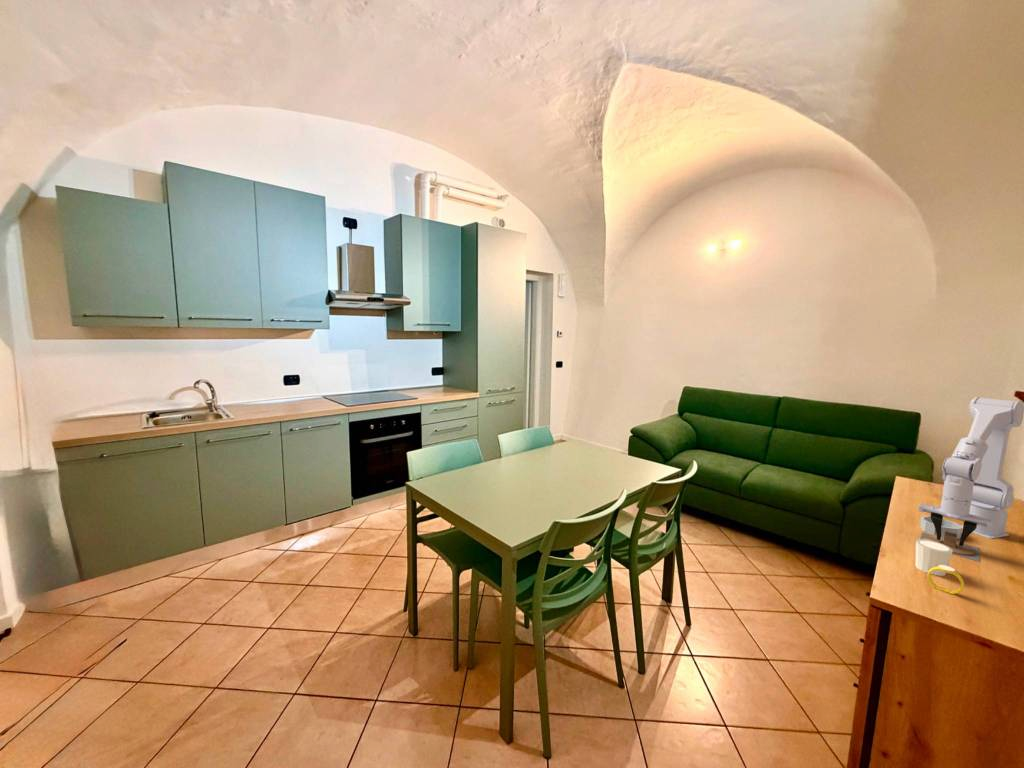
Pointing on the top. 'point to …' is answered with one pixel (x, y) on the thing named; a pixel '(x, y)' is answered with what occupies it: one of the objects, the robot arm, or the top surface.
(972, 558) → the rubber mat
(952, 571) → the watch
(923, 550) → the white cylinder
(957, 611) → the top surface
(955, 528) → the grey curved piece
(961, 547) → the walnut lid
